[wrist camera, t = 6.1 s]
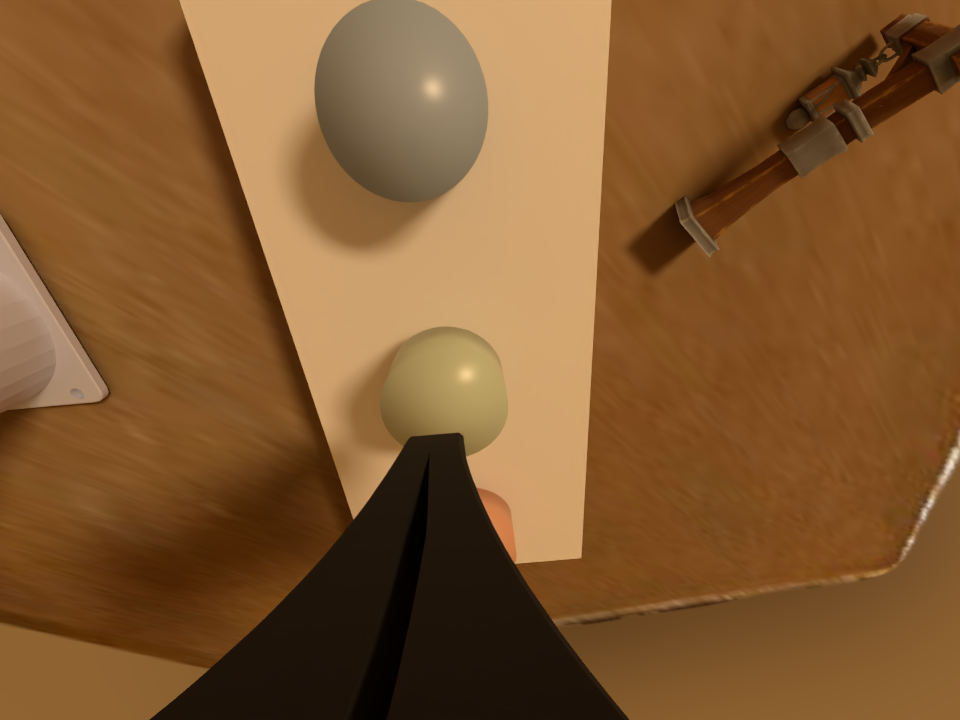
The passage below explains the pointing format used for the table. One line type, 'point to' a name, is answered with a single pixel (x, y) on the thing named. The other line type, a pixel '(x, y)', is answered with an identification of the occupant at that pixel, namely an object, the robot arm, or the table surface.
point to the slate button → (401, 99)
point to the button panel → (434, 237)
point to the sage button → (445, 388)
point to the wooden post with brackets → (835, 120)
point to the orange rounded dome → (500, 519)
